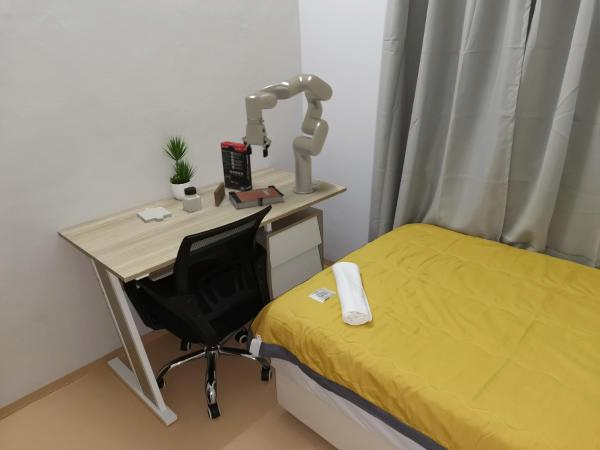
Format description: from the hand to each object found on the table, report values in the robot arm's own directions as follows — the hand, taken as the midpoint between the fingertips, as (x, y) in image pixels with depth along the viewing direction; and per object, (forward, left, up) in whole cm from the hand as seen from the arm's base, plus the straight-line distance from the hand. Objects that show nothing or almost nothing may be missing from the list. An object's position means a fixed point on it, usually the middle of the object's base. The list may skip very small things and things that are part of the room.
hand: (257, 155), depth 201 cm
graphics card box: (+17, -28, -27) cm, 43 cm away
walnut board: (+23, -7, -27) cm, 36 cm away
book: (+3, -7, -28) cm, 29 cm away
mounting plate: (+52, +14, -28) cm, 61 cm away
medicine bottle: (+35, +5, -27) cm, 45 cm away
